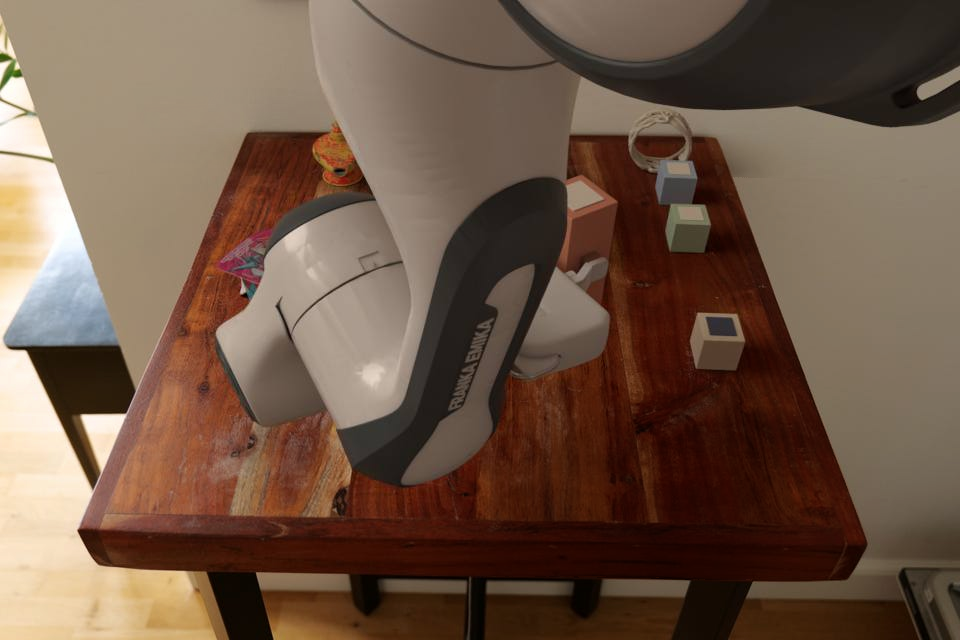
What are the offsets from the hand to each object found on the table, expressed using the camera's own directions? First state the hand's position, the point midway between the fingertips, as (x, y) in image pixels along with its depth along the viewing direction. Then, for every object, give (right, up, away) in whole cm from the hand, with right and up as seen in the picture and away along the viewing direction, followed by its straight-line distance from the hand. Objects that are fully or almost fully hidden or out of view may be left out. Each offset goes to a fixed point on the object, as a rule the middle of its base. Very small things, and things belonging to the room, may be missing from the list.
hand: (579, 243), depth 70 cm
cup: (-27, -10, +16) cm, 32 cm away
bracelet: (+15, +13, +42) cm, 47 cm away
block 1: (+16, +9, +37) cm, 42 cm away
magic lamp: (-25, +11, +38) cm, 47 cm away
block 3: (+15, -10, +16) cm, 24 cm away
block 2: (+16, +3, +30) cm, 34 cm away
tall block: (-1, -6, +4) cm, 7 cm away
